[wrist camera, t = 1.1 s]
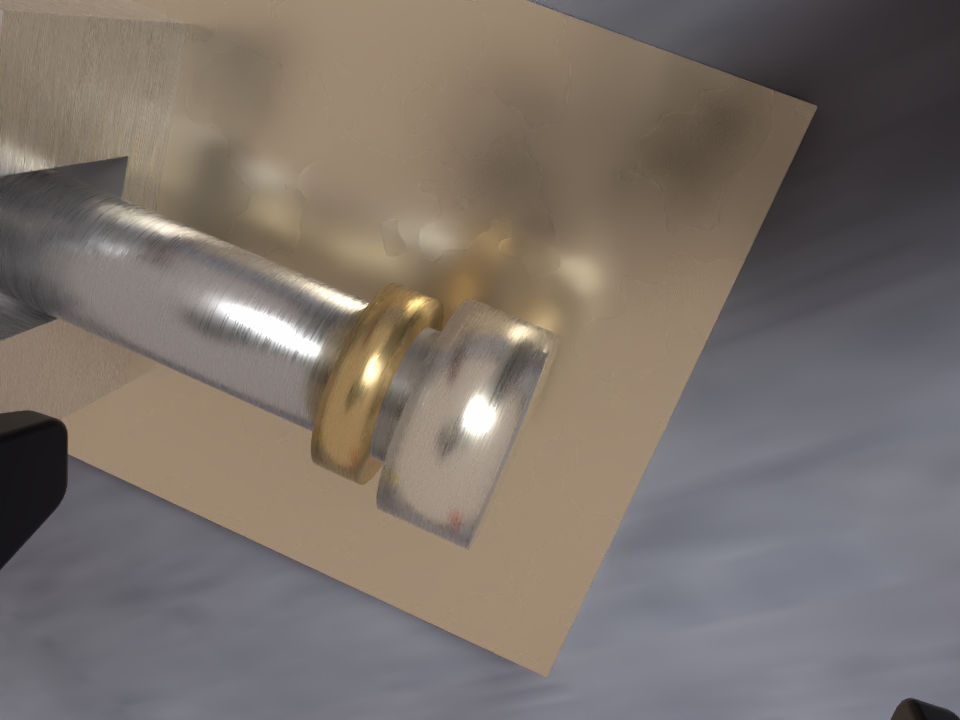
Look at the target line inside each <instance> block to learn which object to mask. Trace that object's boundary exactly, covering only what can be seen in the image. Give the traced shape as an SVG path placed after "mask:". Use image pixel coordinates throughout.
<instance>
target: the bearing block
mask: <svg viewBox="0 0 960 720" xmlns="http://www.w3.org/2000/svg"><path fill="white" fill-rule="evenodd" d="M817 107H818V106H816V105H814V104H811V103H808V102H806V101H803V100H800V99H797V98H795V97H792V96H789V95H786V94H784V93H781V92H778V91H775V90H773V89H770V88H767V87H764V86H762V85H759V84H756V83H753V82H751V81H748V80H745V79H742V78H740V77H737V76H734V75H731V74H729V73H726V72H723V71H720V70H718V69H715V68H712V67H709V66H707V65H704V64H701V63H698V62H696V61H693V60H690V59H687V58H685V57H682V56H679V55H676V54H674V53H671V52H668V51H665V50H663V49H660V48H657V47H654V46H652V45H649V44H646V43H643V42H641V41H638V40H635V39H632V38H630V37H627V36H624V35H621V34H619V33H616V32H613V31H610V30H608V29H605V28H602V27H599V26H597V25H594V24H591V23H588V22H586V21H583V20H580V19H577V18H575V17H572V16H569V15H566V14H564V13H561V12H558V11H555V10H552V9H550V8H547V7H544V6H541V5H539V4H536V3H533V2H530V1H528V0H0V176H4V175H10V174H16V173H23V172H29V171H35V170H42V169H48V168H52V169H54V170H57V171H59V172H61V173H64V174H66V175H68V176H71V177H73V178H76V179H78V180H80V181H83V182H85V183H87V184H90V185H92V186H95V187H97V188H99V189H102V190H104V191H106V192H109V193H111V194H114V195H116V196H118V197H121V198H123V199H125V200H128V201H130V202H133V203H135V204H137V205H140V206H142V207H145V208H147V209H149V210H152V211H154V212H156V213H159V214H161V215H164V216H166V217H168V218H171V219H173V220H175V221H178V222H180V223H183V224H185V225H187V226H190V227H192V228H194V229H197V230H199V231H202V232H204V233H206V234H209V235H211V236H213V237H216V238H218V239H221V240H223V241H225V242H228V243H230V244H233V245H235V246H237V247H240V248H242V249H244V250H247V251H249V252H252V253H254V254H256V255H259V256H261V257H263V258H266V259H268V260H271V261H273V262H275V263H278V264H280V265H282V266H285V267H287V268H290V269H292V270H294V271H297V272H299V273H302V274H304V275H306V276H309V277H311V278H313V279H316V280H318V281H321V282H323V283H325V284H328V285H330V286H332V287H335V288H337V289H340V290H342V291H344V292H347V293H349V294H351V295H354V296H356V297H359V298H361V299H363V300H366V301H368V302H371V301H372V299H373V298H374V297H375V296H376V295H377V294H378V293H379V292H380V291H381V290H382V289H383V288H384V287H385V286H387V285H389V284H391V283H398V284H401V285H403V286H405V287H408V288H410V289H413V290H415V291H418V292H420V293H422V294H425V295H427V296H430V297H432V298H434V299H437V300H439V301H441V302H442V303H443V307H444V318H443V325H442V330H443V328H444V327H445V325H446V323H447V322H448V320H449V319H450V318H451V316H452V315H453V313H454V312H455V311H456V309H457V308H458V307H459V306H460V305H461V304H462V303H463V302H464V301H465V300H466V299H469V298H471V299H474V300H476V301H479V302H481V303H484V304H486V305H489V306H491V307H493V308H496V309H498V310H501V311H503V312H505V313H508V314H510V315H513V316H515V317H518V318H520V319H522V320H525V321H527V322H530V323H532V324H535V325H537V326H539V327H542V328H544V329H547V330H549V331H551V332H554V333H556V334H559V335H561V337H560V342H559V345H558V348H557V352H556V355H555V357H554V360H553V363H552V366H551V369H550V371H549V374H548V377H547V379H546V382H545V384H544V387H543V390H542V392H541V395H540V397H539V400H538V402H537V405H536V407H535V410H534V412H533V415H532V417H531V419H530V422H529V424H528V427H527V429H526V431H525V434H524V436H523V439H522V441H521V443H520V446H519V448H518V450H517V453H516V455H515V457H514V460H513V462H512V464H511V466H510V469H509V471H508V473H507V475H506V478H505V480H504V482H503V484H502V487H501V489H500V491H499V493H498V495H497V498H496V500H495V502H494V504H493V506H492V508H491V510H490V513H489V515H488V517H487V519H486V521H485V523H484V525H483V527H482V529H481V531H480V533H479V535H478V537H477V539H476V540H475V542H474V544H473V546H472V547H471V549H470V550H467V549H465V548H462V547H460V546H458V545H456V544H453V543H451V542H449V541H447V540H445V539H442V538H440V537H438V536H436V535H434V534H431V533H429V532H427V531H425V530H423V529H420V528H418V527H416V526H414V525H411V524H409V523H407V522H405V521H403V520H400V519H398V518H396V517H394V516H392V515H389V514H387V513H385V512H383V511H381V510H378V508H377V504H376V497H377V489H378V484H379V479H380V475H381V471H382V468H383V465H382V467H381V468H380V469H379V471H378V472H377V473H376V474H375V475H374V477H373V478H372V479H371V480H370V481H368V482H367V483H366V484H364V485H359V484H357V483H355V482H353V481H350V480H348V479H346V478H344V477H342V476H339V475H337V474H335V473H333V472H330V471H328V470H326V469H324V468H322V467H319V466H317V465H315V464H314V463H313V461H312V458H311V439H312V431H310V430H307V429H305V428H303V427H301V426H298V425H296V424H294V423H292V422H289V421H287V420H285V419H283V418H280V417H278V416H276V415H274V414H272V413H269V412H267V411H265V410H263V409H260V408H258V407H256V406H254V405H251V404H249V403H247V402H245V401H242V400H240V399H238V398H236V397H233V396H231V395H229V394H227V393H224V392H222V391H220V390H218V389H215V388H213V387H211V386H209V385H206V384H204V383H202V382H200V381H197V380H195V379H193V378H191V377H188V376H186V375H184V374H182V373H179V372H177V371H175V370H173V369H170V368H168V367H166V366H164V365H161V364H159V363H157V362H155V361H152V360H150V359H148V358H146V357H143V356H141V355H139V354H137V353H134V352H132V351H130V350H128V349H125V348H123V347H121V346H119V345H116V344H114V343H112V342H110V341H107V340H105V339H103V338H101V337H99V336H96V335H94V334H92V333H90V332H87V331H85V330H83V329H81V328H78V327H76V326H74V325H72V324H69V323H67V322H65V321H63V320H60V319H58V318H56V317H54V316H51V315H49V314H47V313H45V312H42V311H40V310H38V309H36V308H33V307H31V306H29V305H27V304H24V303H22V302H20V301H18V300H15V299H13V298H11V297H9V296H6V295H4V294H2V293H0V413H7V412H15V411H23V410H31V411H36V412H39V413H42V414H45V415H48V416H51V417H54V418H57V419H60V420H61V421H62V422H63V423H64V424H65V426H66V428H67V431H68V454H69V455H71V456H73V457H75V458H78V459H80V460H82V461H84V462H86V463H88V464H90V465H93V466H95V467H97V468H99V469H101V470H103V471H105V472H107V473H110V474H112V475H114V476H116V477H118V478H120V479H122V480H125V481H127V482H129V483H131V484H133V485H135V486H137V487H140V488H142V489H144V490H146V491H148V492H150V493H152V494H155V495H157V496H159V497H161V498H163V499H165V500H167V501H170V502H172V503H174V504H176V505H178V506H180V507H182V508H185V509H187V510H189V511H191V512H193V513H195V514H197V515H200V516H202V517H204V518H206V519H208V520H210V521H212V522H215V523H217V524H219V525H221V526H223V527H225V528H227V529H230V530H232V531H234V532H236V533H238V534H240V535H242V536H245V537H247V538H249V539H251V540H253V541H255V542H257V543H260V544H262V545H264V546H266V547H268V548H270V549H272V550H275V551H277V552H279V553H281V554H283V555H285V556H287V557H290V558H292V559H294V560H296V561H298V562H300V563H302V564H304V565H307V566H309V567H311V568H313V569H315V570H317V571H319V572H322V573H324V574H326V575H328V576H330V577H332V578H334V579H337V580H339V581H341V582H343V583H345V584H347V585H349V586H352V587H354V588H356V589H358V590H360V591H362V592H364V593H367V594H369V595H371V596H373V597H375V598H377V599H379V600H382V601H384V602H386V603H388V604H390V605H392V606H394V607H397V608H399V609H401V610H403V611H405V612H407V613H409V614H412V615H414V616H416V617H418V618H420V619H422V620H424V621H427V622H429V623H431V624H433V625H435V626H437V627H439V628H442V629H444V630H446V631H448V632H450V633H452V634H454V635H457V636H459V637H461V638H463V639H465V640H467V641H469V642H472V643H474V644H476V645H478V646H480V647H482V648H484V649H487V650H489V651H491V652H493V653H495V654H497V655H499V656H501V657H504V658H506V659H508V660H510V661H512V662H514V663H516V664H519V665H521V666H523V667H525V668H527V669H529V670H531V671H534V672H536V673H538V674H540V675H542V676H544V677H546V678H547V677H548V675H549V673H550V671H551V669H552V666H553V664H554V662H555V660H556V658H557V656H558V654H559V652H560V650H561V647H562V645H563V643H564V641H565V639H566V637H567V635H568V633H569V631H570V628H571V626H572V624H573V622H574V620H575V618H576V616H577V614H578V612H579V609H580V607H581V605H582V603H583V601H584V599H585V597H586V595H587V593H588V590H589V588H590V586H591V584H592V582H593V580H594V578H595V576H596V574H597V571H598V569H599V567H600V565H601V563H602V561H603V559H604V557H605V555H606V552H607V550H608V548H609V546H610V544H611V542H612V540H613V538H614V536H615V533H616V531H617V529H618V527H619V525H620V523H621V521H622V519H623V517H624V514H625V512H626V510H627V508H628V506H629V504H630V502H631V500H632V498H633V495H634V493H635V491H636V489H637V487H638V485H639V483H640V481H641V479H642V476H643V474H644V472H645V470H646V468H647V466H648V464H649V462H650V460H651V457H652V455H653V453H654V451H655V449H656V447H657V445H658V443H659V441H660V438H661V436H662V434H663V432H664V430H665V428H666V426H667V424H668V422H669V419H670V417H671V415H672V413H673V411H674V409H675V407H676V405H677V403H678V400H679V398H680V396H681V394H682V392H683V390H684V388H685V386H686V384H687V381H688V379H689V377H690V375H691V373H692V371H693V369H694V367H695V365H696V362H697V360H698V358H699V356H700V354H701V352H702V350H703V348H704V346H705V343H706V341H707V339H708V337H709V335H710V333H711V331H712V329H713V327H714V324H715V322H716V320H717V318H718V316H719V314H720V312H721V310H722V308H723V305H724V303H725V301H726V299H727V297H728V295H729V293H730V291H731V289H732V286H733V284H734V282H735V280H736V278H737V276H738V274H739V272H740V270H741V267H742V265H743V263H744V261H745V259H746V257H747V255H748V253H749V251H750V248H751V246H752V244H753V242H754V240H755V238H756V236H757V234H758V232H759V229H760V227H761V225H762V223H763V221H764V219H765V217H766V215H767V213H768V210H769V208H770V206H771V204H772V202H773V200H774V198H775V196H776V194H777V191H778V189H779V187H780V185H781V183H782V181H783V179H784V177H785V175H786V173H787V170H788V168H789V166H790V164H791V162H792V160H793V158H794V156H795V154H796V151H797V149H798V147H799V145H800V143H801V141H802V139H803V137H804V135H805V132H806V130H807V128H808V126H809V124H810V122H811V120H812V118H813V116H814V113H815V111H816V109H817ZM442 330H441V332H442Z"/></svg>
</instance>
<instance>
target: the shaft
mask: <svg viewBox="0 0 960 720" xmlns="http://www.w3.org/2000/svg"><path fill="white" fill-rule="evenodd" d="M0 293H2V294H4V295H6V296H9V297H11V298H13V299H15V300H18V301H20V302H22V303H24V304H27V305H29V306H31V307H33V308H36V309H38V310H40V311H42V312H45V313H47V314H49V315H51V316H54V317H56V318H58V319H60V320H63V321H65V322H67V323H69V324H72V325H74V326H76V327H78V328H81V329H83V330H85V331H87V332H90V333H92V334H94V335H96V336H99V337H101V338H103V339H105V340H107V341H110V342H112V343H114V344H116V345H119V346H121V347H123V348H125V349H128V350H130V351H132V352H134V353H137V354H139V355H141V356H143V357H146V358H148V359H150V360H152V361H155V362H157V363H159V364H161V365H164V366H166V367H168V368H170V369H173V370H175V371H177V372H179V373H182V374H184V375H186V376H188V377H191V378H193V379H195V380H197V381H200V382H202V383H204V384H206V385H209V386H211V387H213V388H215V389H218V390H220V391H222V392H224V393H227V394H229V395H231V396H233V397H236V398H238V399H240V400H242V401H245V402H247V403H249V404H251V405H254V406H256V407H258V408H260V409H263V410H265V411H267V412H269V413H272V414H274V415H276V416H278V417H280V418H283V419H285V420H287V421H289V422H292V423H294V424H296V425H298V426H301V427H303V428H305V429H307V430H310V431H312V439H311V458H312V461H313V463H314V464H315V465H317V466H319V467H322V468H324V469H326V470H328V471H330V472H333V473H335V474H337V475H339V476H342V477H344V478H346V479H348V480H350V481H353V482H355V483H357V484H359V485H364V484H366V483H367V482H368V481H370V480H371V479H372V478H373V477H374V475H375V474H376V473H377V472H378V471H379V469H380V468H381V467H382V465H383V468H382V471H381V475H380V479H379V484H378V489H377V497H376V504H377V508H378V510H381V511H383V512H385V513H387V514H389V515H392V516H394V517H396V518H398V519H400V520H403V521H405V522H407V523H409V524H411V525H414V526H416V527H418V528H420V529H423V530H425V531H427V532H429V533H431V534H434V535H436V536H438V537H440V538H442V539H445V540H447V541H449V542H451V543H453V544H456V545H458V546H460V547H462V548H465V549H467V550H470V549H471V547H472V546H473V544H474V542H475V540H476V539H477V537H478V535H479V533H480V531H481V529H482V527H483V525H484V523H485V521H486V519H487V517H488V515H489V513H490V510H491V508H492V506H493V504H494V502H495V500H496V498H497V495H498V493H499V491H500V489H501V487H502V484H503V482H504V480H505V478H506V475H507V473H508V471H509V469H510V466H511V464H512V462H513V460H514V457H515V455H516V453H517V450H518V448H519V446H520V443H521V441H522V439H523V436H524V434H525V431H526V429H527V427H528V424H529V422H530V419H531V417H532V415H533V412H534V410H535V407H536V405H537V402H538V400H539V397H540V395H541V392H542V390H543V387H544V384H545V382H546V379H547V377H548V374H549V371H550V369H551V366H552V363H553V360H554V357H555V355H556V352H557V348H558V345H559V342H560V337H561V335H559V334H556V333H554V332H551V331H549V330H547V329H544V328H542V327H539V326H537V325H535V324H532V323H530V322H527V321H525V320H522V319H520V318H518V317H515V316H513V315H510V314H508V313H505V312H503V311H501V310H498V309H496V308H493V307H491V306H489V305H486V304H484V303H481V302H479V301H476V300H474V299H471V298H469V299H466V300H465V301H464V302H463V303H462V304H461V305H460V306H459V307H458V308H457V309H456V311H455V312H454V313H453V315H452V316H451V318H450V319H449V320H448V322H447V323H446V325H445V327H444V328H443V330H442V325H443V318H444V307H443V303H442V302H441V301H439V300H437V299H434V298H432V297H430V296H427V295H425V294H422V293H420V292H418V291H415V290H413V289H410V288H408V287H405V286H403V285H401V284H398V283H391V284H389V285H387V286H385V287H384V288H383V289H382V290H381V291H380V292H379V293H378V294H377V295H376V296H375V297H374V298H373V299H372V301H371V302H368V301H366V300H363V299H361V298H359V297H356V296H354V295H351V294H349V293H347V292H344V291H342V290H340V289H337V288H335V287H332V286H330V285H328V284H325V283H323V282H321V281H318V280H316V279H313V278H311V277H309V276H306V275H304V274H302V273H299V272H297V271H294V270H292V269H290V268H287V267H285V266H282V265H280V264H278V263H275V262H273V261H271V260H268V259H266V258H263V257H261V256H259V255H256V254H254V253H252V252H249V251H247V250H244V249H242V248H240V247H237V246H235V245H233V244H230V243H228V242H225V241H223V240H221V239H218V238H216V237H213V236H211V235H209V234H206V233H204V232H202V231H199V230H197V229H194V228H192V227H190V226H187V225H185V224H183V223H180V222H178V221H175V220H173V219H171V218H168V217H166V216H164V215H161V214H159V213H156V212H154V211H152V210H149V209H147V208H145V207H142V206H140V205H137V204H135V203H133V202H130V201H128V200H125V199H123V198H121V197H118V196H116V195H114V194H111V193H109V192H106V191H104V190H102V189H99V188H97V187H95V186H92V185H90V184H87V183H85V182H83V181H80V180H78V179H76V178H73V177H71V176H68V175H66V174H64V173H61V172H59V171H57V170H54V169H52V168H48V169H42V170H35V171H29V172H23V173H16V174H10V175H4V176H0ZM441 330H442V332H441Z"/></svg>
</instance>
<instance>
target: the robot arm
mask: <svg viewBox="0 0 960 720" xmlns="http://www.w3.org/2000/svg"><path fill="white" fill-rule="evenodd" d="M67 481H68V431H67V428H66V426H65V424H64V423H63V422H62V421H61V420H60V419H57V418H54V417H51V416H48V415H45V414H42V413H39V412H36V411H31V410H23V411H15V412H7V413H0V570H1V569H2V568H3V567H4V565H5V564H6V563H7V562H8V561H9V560H10V559H11V558H12V557H13V556H14V554H15V553H16V552H17V551H18V550H19V549H20V548H21V547H22V546H23V545H24V544H25V542H26V541H27V540H28V539H29V538H30V537H31V536H32V535H33V534H34V533H35V531H36V530H37V529H38V528H39V527H40V526H41V525H42V524H43V523H44V522H45V520H46V519H47V518H48V517H49V516H50V515H51V514H52V513H53V512H54V511H55V509H56V508H57V507H58V506H59V504H60V503H61V501H62V499H63V497H64V495H65V492H66V488H67ZM891 720H960V718H959V717H958V716H957V715H956V714H955V713H953V712H951V711H950V710H948V709H945V708H942V707H939V706H935V705H932V704H929V703H926V702H923V701H920V700H917V699H914V698H908V699H905V700H903V701H902V702H901V703H900V704H899V705H898V706H897V708H896V710H895V712H894V714H893V716H892V718H891Z"/></svg>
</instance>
